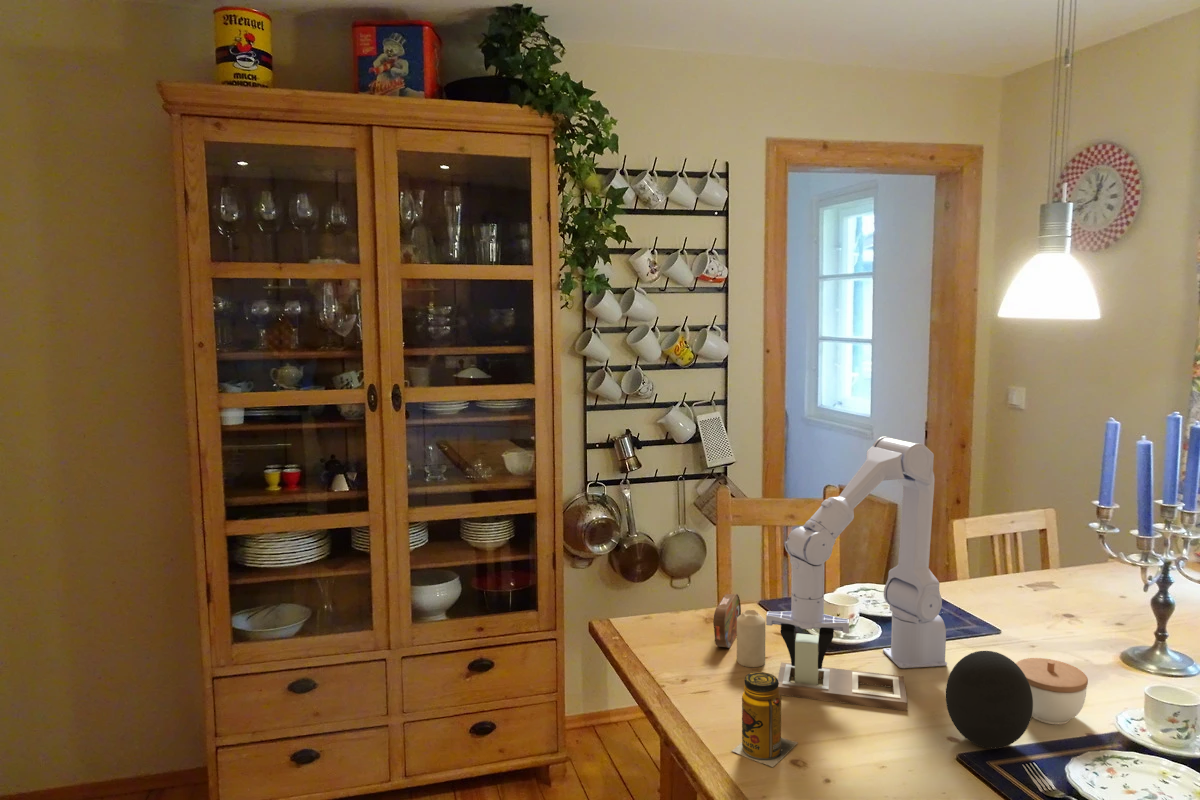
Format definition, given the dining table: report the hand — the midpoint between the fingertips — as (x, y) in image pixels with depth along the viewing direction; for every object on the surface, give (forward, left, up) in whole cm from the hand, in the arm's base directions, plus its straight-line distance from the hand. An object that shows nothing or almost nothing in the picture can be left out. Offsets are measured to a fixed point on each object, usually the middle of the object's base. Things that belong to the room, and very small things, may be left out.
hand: (806, 665), depth 148 cm
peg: (0, 0, -3) cm, 3 cm away
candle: (+8, -11, -4) cm, 14 cm away
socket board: (-5, +2, -4) cm, 7 cm away
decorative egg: (-21, +22, -4) cm, 31 cm away
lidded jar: (-36, +15, -4) cm, 40 cm away
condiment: (+14, +19, -4) cm, 24 cm away
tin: (+10, -22, -4) cm, 24 cm away
